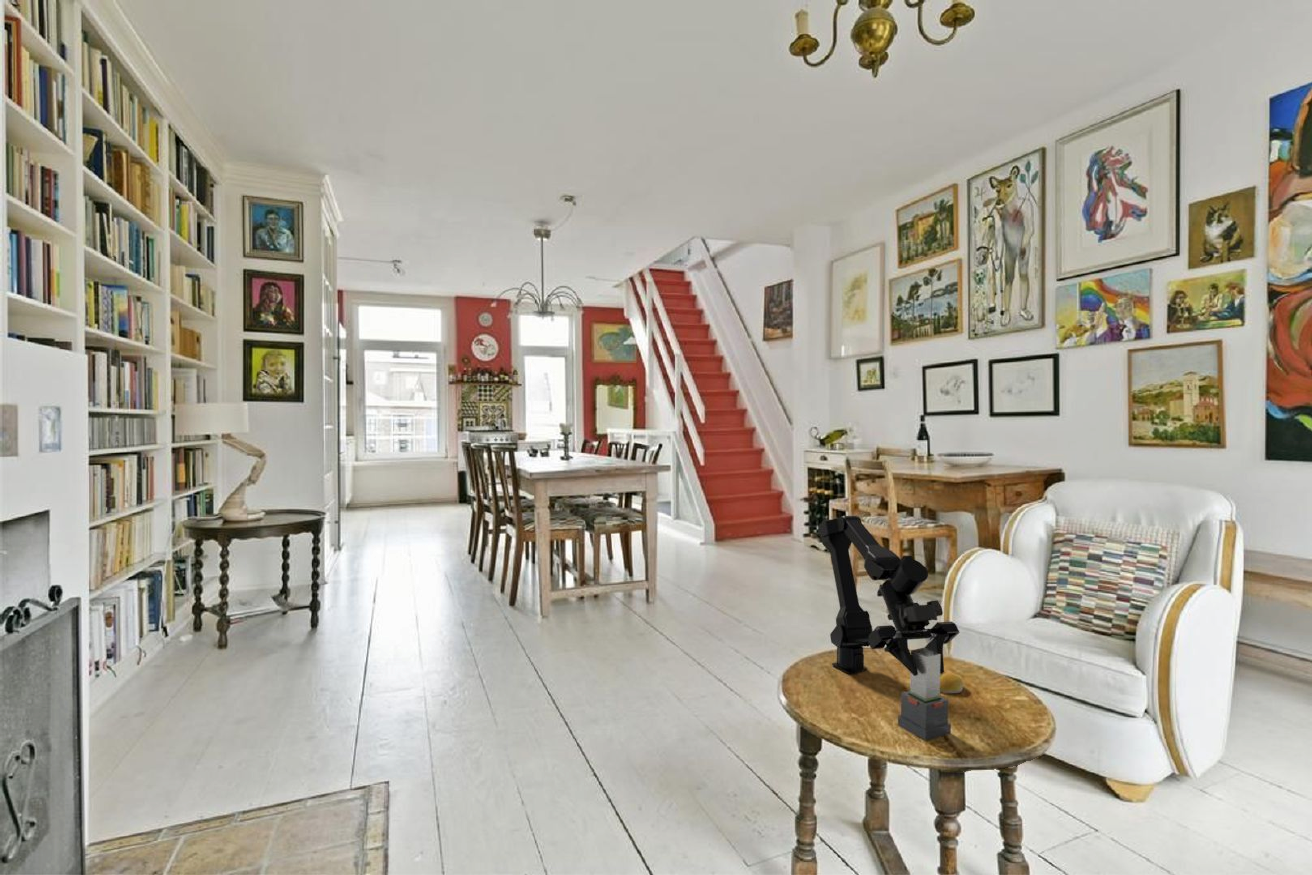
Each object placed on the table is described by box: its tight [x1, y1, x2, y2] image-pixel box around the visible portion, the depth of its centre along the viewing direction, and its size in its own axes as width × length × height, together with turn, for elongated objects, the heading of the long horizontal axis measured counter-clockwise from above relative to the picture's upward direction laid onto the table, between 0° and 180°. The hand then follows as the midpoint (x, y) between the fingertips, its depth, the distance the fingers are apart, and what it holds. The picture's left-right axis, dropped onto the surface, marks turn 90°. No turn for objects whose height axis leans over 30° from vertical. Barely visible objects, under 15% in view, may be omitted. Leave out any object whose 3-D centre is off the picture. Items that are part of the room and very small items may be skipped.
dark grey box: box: [897, 690, 952, 742], centre depth 132 cm, size 7×7×7 cm
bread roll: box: [940, 671, 964, 694], centre depth 153 cm, size 8×9×4 cm
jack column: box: [908, 646, 941, 703], centre depth 132 cm, size 4×4×11 cm
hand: (929, 674), depth 131 cm, fingers open, 6 cm apart
